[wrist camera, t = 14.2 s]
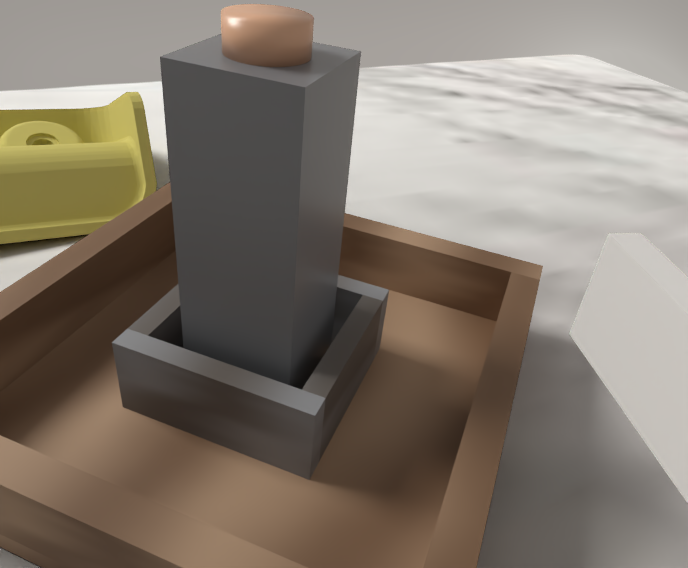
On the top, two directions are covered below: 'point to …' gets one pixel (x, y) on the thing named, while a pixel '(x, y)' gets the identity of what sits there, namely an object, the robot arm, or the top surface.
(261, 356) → the grey tall block
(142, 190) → the plastic component
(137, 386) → the box
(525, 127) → the top surface
